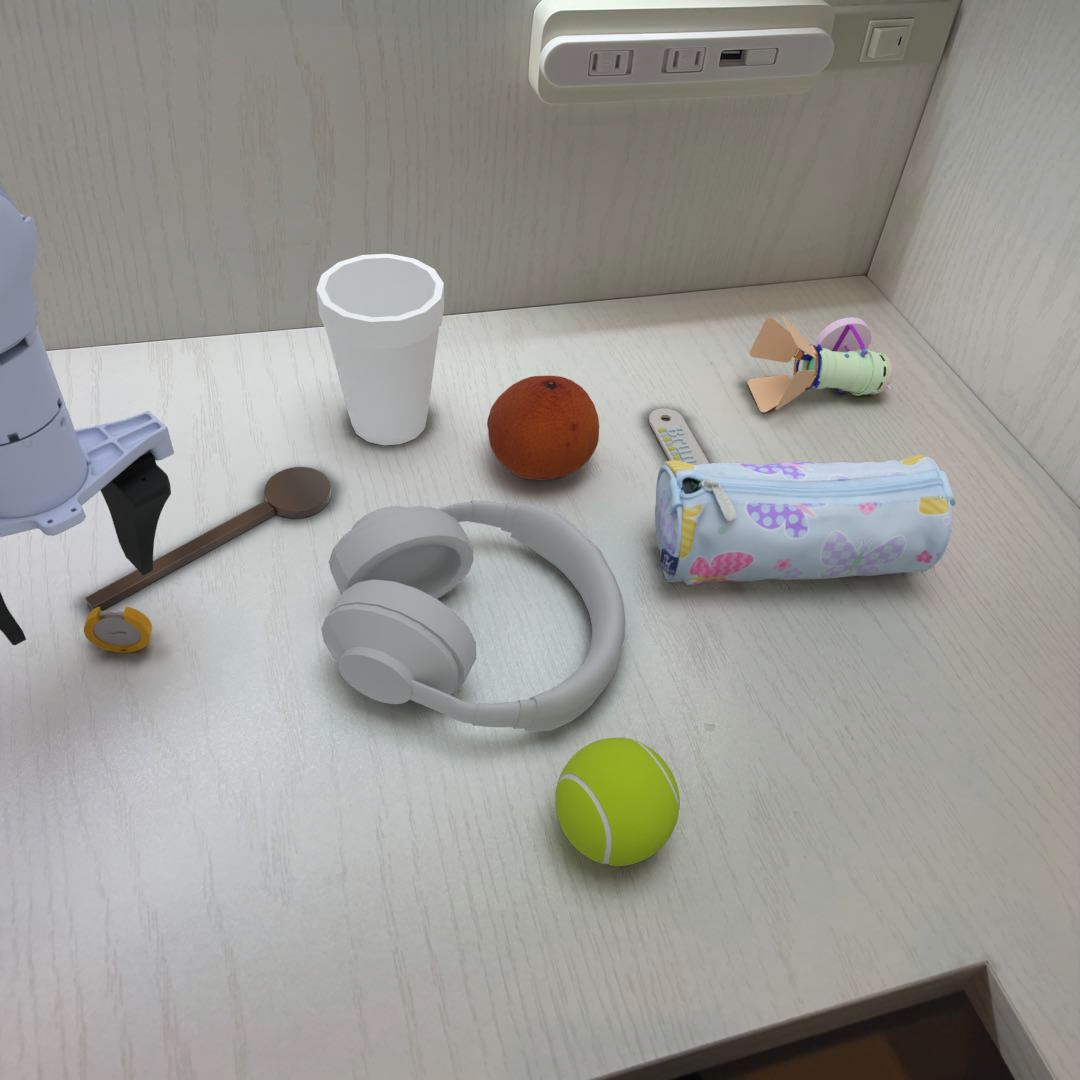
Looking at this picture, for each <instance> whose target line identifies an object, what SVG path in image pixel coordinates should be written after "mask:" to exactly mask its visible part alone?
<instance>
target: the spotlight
mask: <svg viewBox="0 0 1080 1080" xmlns="http://www.w3.org/2000/svg"><path fill="white" fill-rule="evenodd" d="M781 318H782V320H783V322H784V324H785V326H786V327H787V328H786V327H784V326H783V325H782V324H781V323H779V321H777V320H776V319H775V318H774V317H770V316H769V317H767V318H766V319H765V321H764V322H763V325H762V326H761V328H760V330H759V332H758V334H757V336H756V338H755V340H754V342H753V344H752V346H751V348H750V350H749V352H748V353H749V355H750V357H752V358H756V359H761V360H767V361H774V362H779V363H789V362H791V361H792V359H793V358H794V360H793V361H794V362H793V375H792V379H791V376H789V375H788V374H779V375H772V376H763V377H755V378H750V379H748V380H747V386H748V388H749V390H750V392H751V394H752V396H753V399H754V401H755V404H756V405H757V408H758V410H759V411H760V412H761V413H767V412H769V411H771V410H772V409H774V408H775V410H776V411H779V410H780V409H781V408H782V407H785V406H786V405H787V404H789V403H791V402H792V401H793V400H794V399H796V398H798V397H799V396H800V395H802V394H803V393H804V392H805V391H808V390H811V389H812V388H814V389H818V390H823V389H826V388H830V389H837V390H838V391H837V392H838V393H841V394H842V393H843V394H844V393H845V392H850V393H851V394H852V395H853V396H855V397H856V396H857V397H858V396H862V395H877V394H880V393H882V392H884V391H885V390H887V389H888V390H891V389H892V387H890V384H891V381H892V379H893V376H894V375H893V374H894V368H893V364H892V361H891V360H890V358H889V357H888V356H887V355H886V354H885V353H882V352H879V351H873V350H869V349H868V348H869V347H870V345H871V342H872V331H871V330H870V328H869V326H868V325H867V323H866V322H865V321H864V320H863V319H861V318H858V317H854V316H853V317H851V316H850V317H844V318H840V319H838V320H835V321H833V322H831V323H830V324H828V325H827V326H826V327H824V328H823V329H822V330H821V331H820V333H819V334H818V336H817V337H816V339H815V342H814V344H810V342H809V341H808V340H807V338H805V337H804V336H803V334H802V333H801V332H800V331H799V330H798V329H797V327H795V326H794V325H793V324H792V323H791V322H790V321H789V320H788V319H787V317H785V316H784V315H781ZM805 353H806V354H805ZM801 361H803V362H802V365H801V370H800V369H799V367H800V363H801Z"/></svg>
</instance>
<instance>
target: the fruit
mask: <svg viewBox="0 0 1080 1080" xmlns="http://www.w3.org/2000/svg"><path fill="white" fill-rule="evenodd" d="M486 425H487V432H488V433H487V434H488V440H489V446H490V449H491V451H492V453H493V454H494V456H495V458H496V460H497V461H498V462H499V463H500V464H501V465H503V467H505V468H506V469H508V470H509V471H510V472H511V473H513V475H516V476H518V477H521V478H523V479H529V480H538V481H540V480H541V481H543V480H544V481H546V480H554V479H559V478H565V477H567V476H569V475H572V474H573V473H575V472H577V471H578V470H579V469H581V468H582V467H583V466H584V465H585V464H587V463H588V462H589V461H590V459H591V458H592V456H593V455H594V453H595V451H596V449H597V447H598V445H599V444H598V443H599V442H600V441H599V440H600V420H599V414H598V412H597V409H596V406H595V403H594V402H593V399H592V398H591V397H590V395H589V394H588V392H587V391H586V390H585V389H584V388H583V387H582V386H581V385H579V384H578V383H577V382H575V381H574V380H571V379H569V378H567V377H563V376H559V375H533V376H529V377H525V378H522V379H521V380H519V381H516V382H515V383H513V384H511V386H509V387H508V388H506V389H505V390H504V391H503V392H502V393H501V394H500V395H499V396H498V397H497V398H496V400H495V401H494V403H493V405H491V408H490V410H489V415H488V417H487V421H486Z"/></svg>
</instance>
